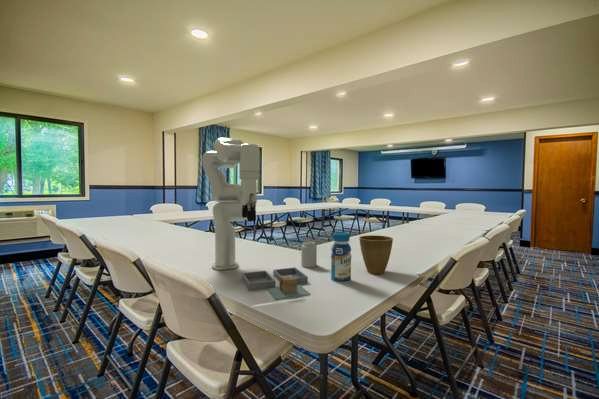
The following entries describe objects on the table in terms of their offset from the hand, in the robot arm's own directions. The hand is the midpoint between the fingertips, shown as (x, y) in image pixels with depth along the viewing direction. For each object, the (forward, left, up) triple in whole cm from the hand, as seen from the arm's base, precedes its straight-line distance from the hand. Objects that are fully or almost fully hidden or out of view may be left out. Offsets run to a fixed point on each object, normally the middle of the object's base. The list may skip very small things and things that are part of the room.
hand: (248, 219), depth 112 cm
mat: (+15, +11, -26) cm, 32 cm away
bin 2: (+2, +17, -26) cm, 31 cm away
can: (-14, +32, -26) cm, 44 cm away
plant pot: (+5, +57, -26) cm, 63 cm away
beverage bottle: (+10, +36, -26) cm, 46 cm away
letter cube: (+15, +11, -25) cm, 32 cm away
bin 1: (+2, +3, -26) cm, 26 cm away
